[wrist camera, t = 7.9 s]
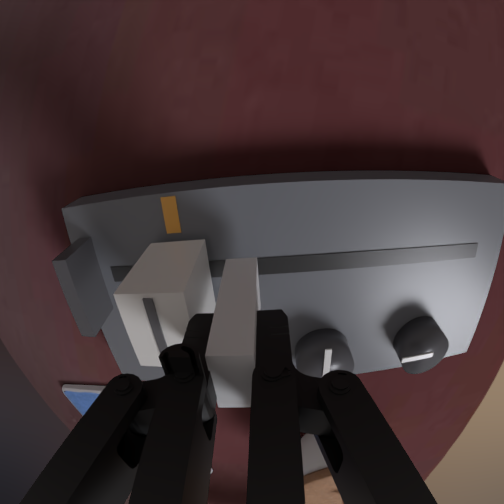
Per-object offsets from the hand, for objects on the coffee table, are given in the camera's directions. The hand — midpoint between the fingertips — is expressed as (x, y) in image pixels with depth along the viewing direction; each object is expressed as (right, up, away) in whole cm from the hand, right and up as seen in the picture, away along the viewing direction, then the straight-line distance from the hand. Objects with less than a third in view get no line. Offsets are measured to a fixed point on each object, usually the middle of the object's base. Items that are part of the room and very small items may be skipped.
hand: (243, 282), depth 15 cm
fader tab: (-3, 0, +1) cm, 4 cm away
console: (+4, 0, +5) cm, 6 cm away
